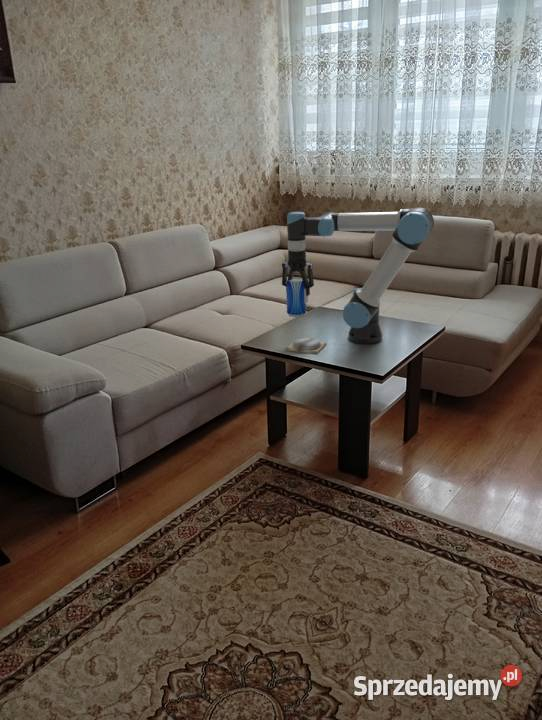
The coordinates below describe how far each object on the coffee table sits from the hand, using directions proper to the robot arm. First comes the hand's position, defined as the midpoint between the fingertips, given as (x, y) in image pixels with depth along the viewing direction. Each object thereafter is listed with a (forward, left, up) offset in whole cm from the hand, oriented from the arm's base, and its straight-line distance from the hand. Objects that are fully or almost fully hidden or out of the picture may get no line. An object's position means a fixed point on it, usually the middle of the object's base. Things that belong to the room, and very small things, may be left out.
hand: (298, 301), depth 267 cm
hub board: (-6, +6, -19) cm, 20 cm away
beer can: (+1, 0, -6) cm, 6 cm away
